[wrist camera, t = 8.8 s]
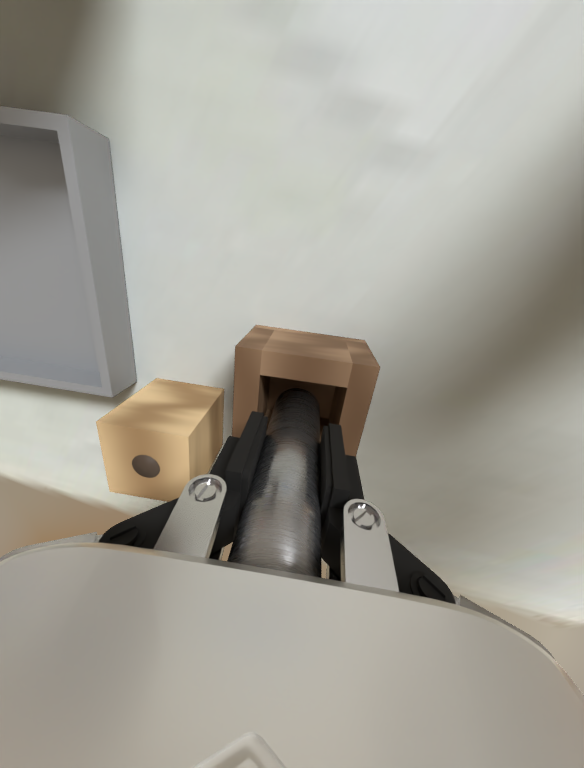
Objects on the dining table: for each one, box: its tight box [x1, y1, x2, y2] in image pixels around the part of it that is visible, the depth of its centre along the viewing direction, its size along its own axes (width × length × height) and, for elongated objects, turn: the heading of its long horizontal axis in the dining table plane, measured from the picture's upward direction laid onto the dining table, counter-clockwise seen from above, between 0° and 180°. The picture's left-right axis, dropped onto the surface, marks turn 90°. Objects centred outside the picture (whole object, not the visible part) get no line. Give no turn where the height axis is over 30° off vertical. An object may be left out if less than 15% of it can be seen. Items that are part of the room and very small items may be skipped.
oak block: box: [96, 378, 224, 502], centre depth 18 cm, size 5×5×6 cm
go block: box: [232, 325, 380, 457], centre depth 17 cm, size 7×7×5 cm
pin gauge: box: [227, 388, 321, 578], centre depth 10 cm, size 3×3×12 cm
